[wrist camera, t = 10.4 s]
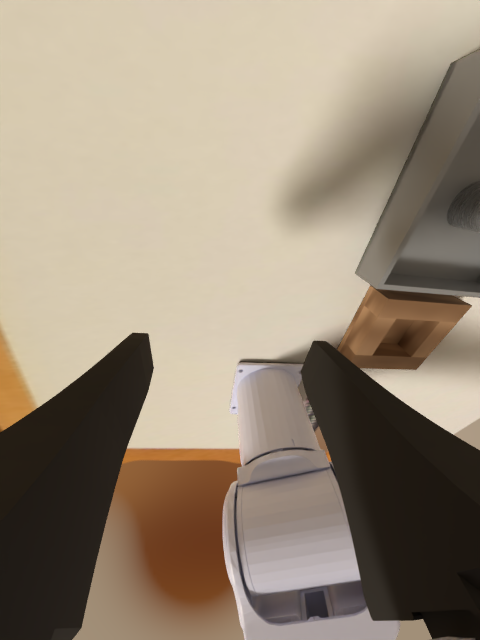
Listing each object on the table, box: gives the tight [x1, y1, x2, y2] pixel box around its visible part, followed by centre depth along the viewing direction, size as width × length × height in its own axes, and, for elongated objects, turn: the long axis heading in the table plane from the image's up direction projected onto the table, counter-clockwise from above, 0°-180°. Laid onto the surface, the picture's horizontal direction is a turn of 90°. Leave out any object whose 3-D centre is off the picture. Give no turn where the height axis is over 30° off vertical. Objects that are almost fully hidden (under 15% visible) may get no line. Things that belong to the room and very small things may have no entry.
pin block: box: [337, 286, 472, 370], centre depth 21 cm, size 8×8×2 cm
